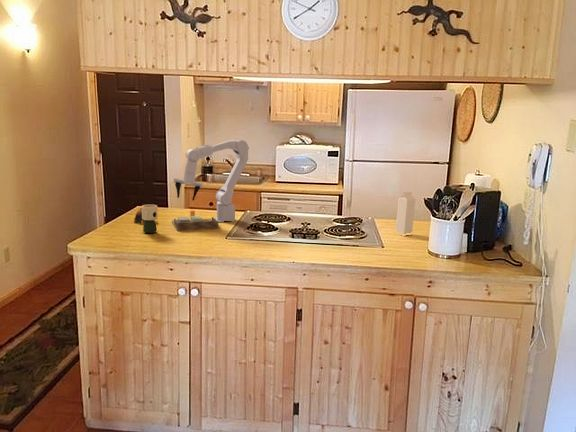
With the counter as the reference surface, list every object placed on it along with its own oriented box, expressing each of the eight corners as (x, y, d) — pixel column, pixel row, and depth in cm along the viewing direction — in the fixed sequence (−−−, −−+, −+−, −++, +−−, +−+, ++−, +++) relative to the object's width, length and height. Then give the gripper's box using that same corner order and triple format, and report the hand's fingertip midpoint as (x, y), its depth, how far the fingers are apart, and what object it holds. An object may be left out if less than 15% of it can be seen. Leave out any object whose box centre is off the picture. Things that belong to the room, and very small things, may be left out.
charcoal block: (186, 224, 253) (186, 216, 252) (189, 227, 247) (189, 219, 246) (177, 225, 251) (177, 217, 250) (179, 227, 246) (179, 220, 245)
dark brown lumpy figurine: (130, 222, 259) (136, 207, 261) (147, 228, 264) (153, 214, 266) (136, 221, 249) (143, 205, 251) (154, 228, 253) (160, 213, 255)
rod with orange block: (196, 219, 262) (196, 210, 261) (201, 226, 250) (202, 216, 248) (187, 220, 261) (187, 210, 259) (192, 226, 248) (192, 216, 247)
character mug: (154, 235, 234) (154, 208, 231) (139, 235, 234) (138, 208, 231) (160, 230, 244) (159, 203, 241) (145, 229, 244) (145, 203, 241)
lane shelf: (210, 220, 267) (210, 213, 266) (218, 229, 251) (218, 221, 250) (171, 222, 260) (171, 214, 259) (177, 231, 243) (177, 223, 243)
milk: (395, 234, 256) (398, 191, 252) (403, 232, 260) (406, 190, 255) (404, 236, 252) (407, 193, 247) (412, 235, 255) (416, 192, 250)
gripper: (174, 170, 250) (170, 197, 252) (203, 176, 252) (199, 202, 254) (176, 169, 257) (172, 195, 259) (204, 174, 258) (200, 200, 260)
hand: (185, 198), depth 257 cm, fingers open, 7 cm apart
